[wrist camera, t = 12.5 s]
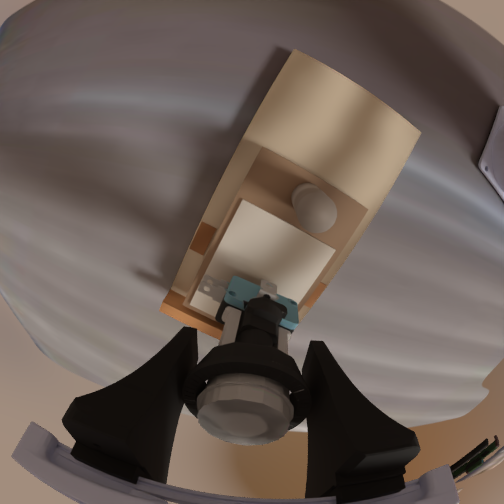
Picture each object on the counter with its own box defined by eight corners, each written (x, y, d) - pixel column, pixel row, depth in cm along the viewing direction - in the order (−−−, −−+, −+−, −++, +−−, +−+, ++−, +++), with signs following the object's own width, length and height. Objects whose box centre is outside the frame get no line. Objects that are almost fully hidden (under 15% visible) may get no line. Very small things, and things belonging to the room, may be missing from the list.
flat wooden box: (415, 132, 17) (434, 132, 14) (278, 342, 25) (278, 364, 22) (293, 53, 15) (296, 38, 13) (170, 291, 23) (159, 310, 21)
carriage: (361, 204, 18) (392, 227, 13) (272, 334, 23) (272, 382, 18) (262, 146, 17) (259, 146, 12) (187, 295, 22) (166, 337, 17)
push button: (193, 304, 19) (136, 415, 10) (220, 239, 17) (156, 342, 8) (277, 339, 19) (272, 461, 10) (314, 282, 17) (341, 407, 8)
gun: (416, 482, 55) (414, 498, 48) (488, 430, 41) (490, 447, 35) (427, 485, 52) (425, 500, 46) (497, 434, 39) (500, 450, 32)
